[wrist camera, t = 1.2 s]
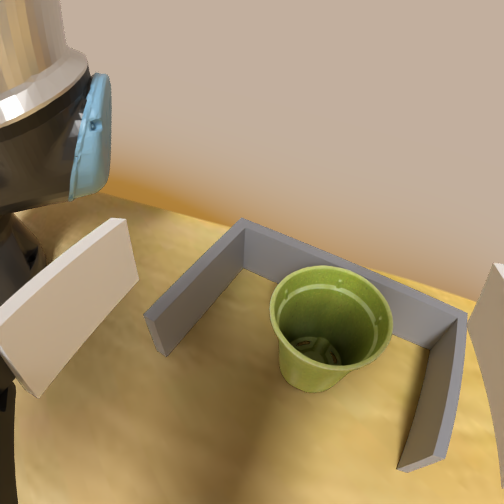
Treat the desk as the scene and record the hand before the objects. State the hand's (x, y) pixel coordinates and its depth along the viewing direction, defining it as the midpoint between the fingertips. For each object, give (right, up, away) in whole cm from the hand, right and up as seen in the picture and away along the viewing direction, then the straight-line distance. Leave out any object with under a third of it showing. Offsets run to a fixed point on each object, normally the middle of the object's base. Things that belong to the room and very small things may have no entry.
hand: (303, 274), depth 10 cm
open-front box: (+4, -9, +18) cm, 21 cm away
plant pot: (+4, -10, +18) cm, 21 cm away
